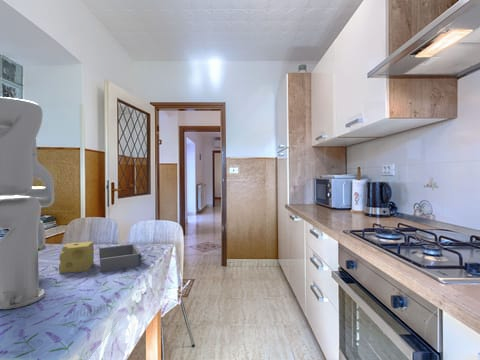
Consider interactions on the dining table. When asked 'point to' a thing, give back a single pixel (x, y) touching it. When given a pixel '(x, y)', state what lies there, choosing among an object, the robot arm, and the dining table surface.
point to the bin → (119, 257)
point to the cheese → (76, 257)
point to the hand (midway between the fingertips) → (29, 266)
